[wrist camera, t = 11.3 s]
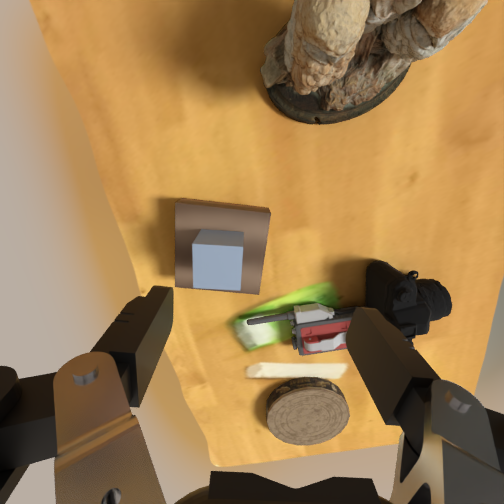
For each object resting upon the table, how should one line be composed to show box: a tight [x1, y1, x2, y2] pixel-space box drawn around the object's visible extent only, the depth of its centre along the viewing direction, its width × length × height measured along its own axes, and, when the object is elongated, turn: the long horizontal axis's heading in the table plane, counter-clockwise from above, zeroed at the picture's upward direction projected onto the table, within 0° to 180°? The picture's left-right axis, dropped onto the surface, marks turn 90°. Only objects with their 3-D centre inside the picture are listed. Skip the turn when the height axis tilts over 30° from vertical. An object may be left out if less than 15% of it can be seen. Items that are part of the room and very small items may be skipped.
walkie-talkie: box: [247, 303, 368, 356], centre depth 39 cm, size 9×4×20 cm
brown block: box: [175, 198, 271, 295], centre depth 34 cm, size 12×12×4 cm
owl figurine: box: [260, 0, 488, 125], centre depth 20 cm, size 18×12×17 cm, turn 106°
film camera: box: [365, 261, 452, 345], centre depth 35 cm, size 15×10×9 cm, turn 9°
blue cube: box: [192, 229, 244, 291], centre depth 30 cm, size 6×6×6 cm
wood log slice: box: [266, 377, 350, 445], centre depth 48 cm, size 16×16×3 cm
